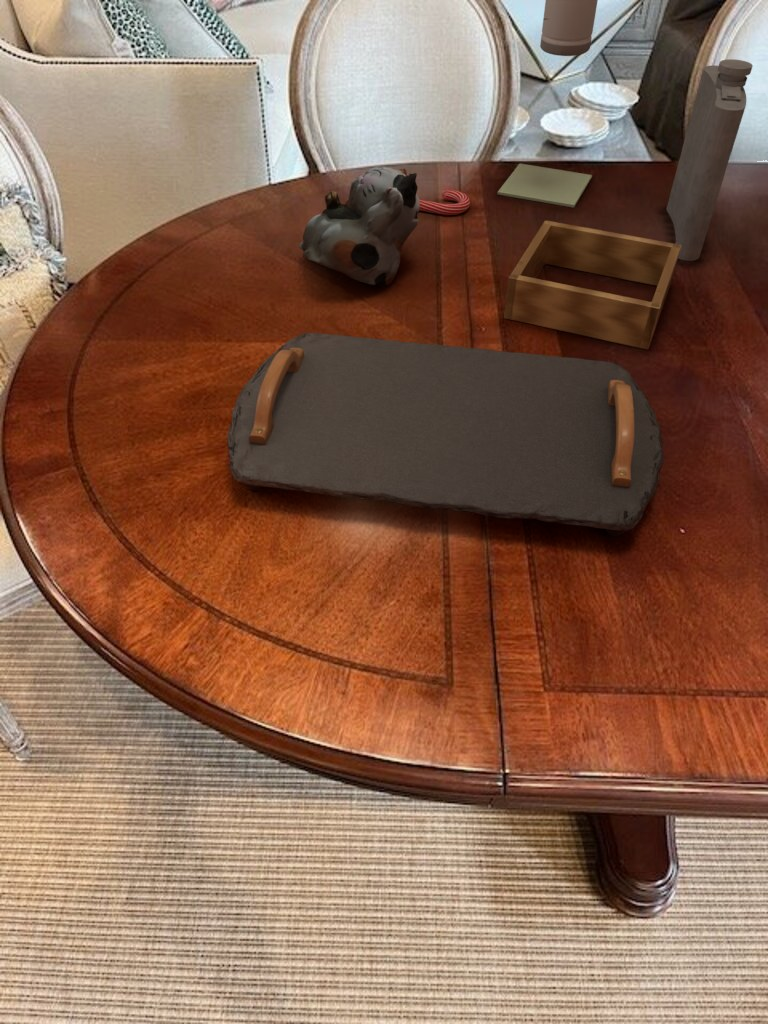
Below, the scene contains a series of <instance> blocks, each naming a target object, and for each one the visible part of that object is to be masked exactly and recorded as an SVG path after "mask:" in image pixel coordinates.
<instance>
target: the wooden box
mask: <svg viewBox="0 0 768 1024" xmlns="http://www.w3.org/2000/svg"><path fill="white" fill-rule="evenodd" d="M681 246H682V245H679V244H675V243H673V242H667V241H663V240H656V239H650V238H645V237H640V236H634V235H628V234H623V233H618V232H613V231H607V230H601V229H597V228H596V229H595V228H591V227H584V226H578V225H573V224H568V223H562V222H556V221H551V220H544V221H543V223H542V224H541V226H540V228H539V229H538V231H537V232H536V234H535V235H534V237H533V238H532V240H531V242H530V243H529V245H528V247H527V248H526V250H525V252H524V253H523V255H522V256H521V258H520V259H519V261H518V263H517V264H516V266H515V267H514V269H513V270H512V272H511V273H510V275H509V276H508V281H507V287H506V297H505V306H504V314H503V318H504V319H506V320H510V321H516V322H520V323H525V324H530V325H534V326H539V327H542V328H547V329H550V330H551V329H552V330H556V331H561V332H565V333H571V334H575V335H579V336H584V337H588V338H592V339H597V340H602V341H607V342H611V343H616V344H620V345H625V346H629V347H633V348H639V349H642V350H649V349H650V346H651V344H652V343H651V342H652V340H653V338H654V335H655V332H656V328H657V325H658V323H659V319H660V317H661V313H662V311H663V308H664V305H665V301H666V299H667V297H668V294H669V290H670V288H671V284H672V281H673V277H674V274H675V271H676V267H677V263H678V260H679V259H678V257H679V253H680V250H681ZM545 265H550V266H554V267H559V268H564V269H569V270H574V271H580V272H585V273H591V274H595V275H601V276H604V277H605V276H606V277H611V278H616V279H621V280H624V281H625V280H626V281H631V282H636V283H640V284H647V285H651V286H656V289H655V291H654V294H653V297H652V300H651V301H648V300H644V299H638V298H633V297H629V296H625V295H618V294H614V293H609V292H604V291H600V290H594V289H589V288H584V287H580V286H574V285H569V284H566V283H565V284H564V283H559V282H554V281H550V280H546V279H545V280H544V279H540V278H538V276H539V275H540V273H541V272H542V270H543V268H544V266H545Z"/></svg>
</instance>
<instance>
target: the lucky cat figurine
mask: <svg viewBox="0 0 768 1024" xmlns="http://www.w3.org/2000/svg"><path fill="white" fill-rule="evenodd" d="M417 177H418V174H417V172H412V173H409V174H408V173H407V169H406V168H404V167H403V168H400V169H395V168H393V167H388V166H383V167H378V166H374V167H371V168H370V169H369V170H367V171H366V172H365V173H363V174H360V175H359V176H357V177H355V179H353V181H352V182H351V184H350V188H349V194H348V200H346V201H345V203H344V204H343V203H342V202H341V200H340V196H339V194H338V193H337V192H336V191H333V190H329V192H328V193H327V194H325V196H324V201H325V209H323V210H322V212H321V213H319V214H316V215H314V216H312V218H311V219H310V220H309V221H308V222H307V224H306V225H305V228H304V232H303V235H302V242H300V243H299V245H298V248H299V249H300V250H302V252H303V254H302V256H303V257H305V258H306V259H307V260H308V261H311V262H313V263H315V264H317V265H319V266H323V267H325V268H328V269H331V270H334V271H337V272H340V273H342V274H344V275H346V276H347V277H349V278H351V279H353V280H355V281H357V282H359V283H363V284H367V285H372V286H376V285H379V286H380V287H381V288H382V287H388V285H390V284H391V283H392V282H394V279H395V277H396V275H397V272H398V270H399V268H400V263H401V253H402V248H403V246H404V244H405V242H406V241H407V240H408V238H409V237H410V235H411V234H412V233H413V232H414V230H415V229H416V228H417V227H418V224H419V220H420V219H419V218H418V214H419V211H420V210H419V209H420V204H419V203H420V200H421V199H420V198H419V195H418V193H417V192H418V188H419V187H418V184H417V181H416V180H417Z"/></svg>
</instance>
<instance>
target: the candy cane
mask: <svg viewBox="0 0 768 1024" xmlns="http://www.w3.org/2000/svg"><path fill="white" fill-rule="evenodd" d="M441 195H442V198H443V200H445V201H451V202H456V203H442V202H435V201H431V200H426V199H425V200H424V199H420V203H419V204H420V209H419V211H420V212H426V213H431V214H432V213H433V214H437V215H443V216H455V215H460V214H463V213H464V212H466V211H468V209H469V208H470V206H471V200H470V197H469V196H468V195H467V194H466V193H464V192H462V191H459V190H454V189H445V190H443V192H442V194H441Z"/></svg>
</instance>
